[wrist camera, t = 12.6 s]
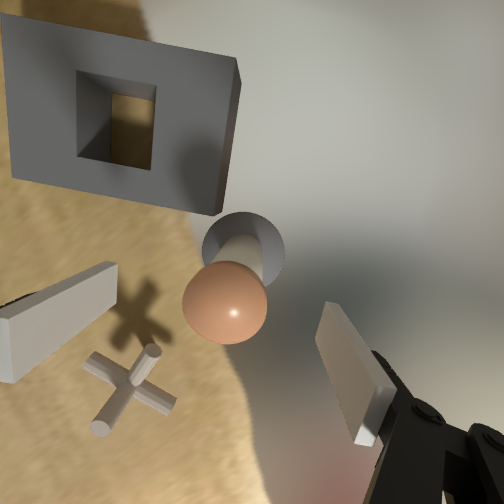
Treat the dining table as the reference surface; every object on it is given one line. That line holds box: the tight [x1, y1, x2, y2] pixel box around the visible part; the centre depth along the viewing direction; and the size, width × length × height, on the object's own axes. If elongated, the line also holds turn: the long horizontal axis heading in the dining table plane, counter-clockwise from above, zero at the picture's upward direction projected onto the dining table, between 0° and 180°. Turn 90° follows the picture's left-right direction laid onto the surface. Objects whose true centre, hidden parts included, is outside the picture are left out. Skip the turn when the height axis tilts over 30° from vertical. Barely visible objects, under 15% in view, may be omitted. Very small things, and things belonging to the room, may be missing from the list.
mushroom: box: [182, 234, 267, 344], centre depth 20 cm, size 5×5×12 cm
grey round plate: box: [202, 212, 285, 287], centre depth 26 cm, size 9×9×1 cm
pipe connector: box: [82, 343, 177, 437], centre depth 25 cm, size 10×10×10 cm
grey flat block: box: [0, 13, 241, 216], centre depth 21 cm, size 18×12×4 cm, turn 79°
